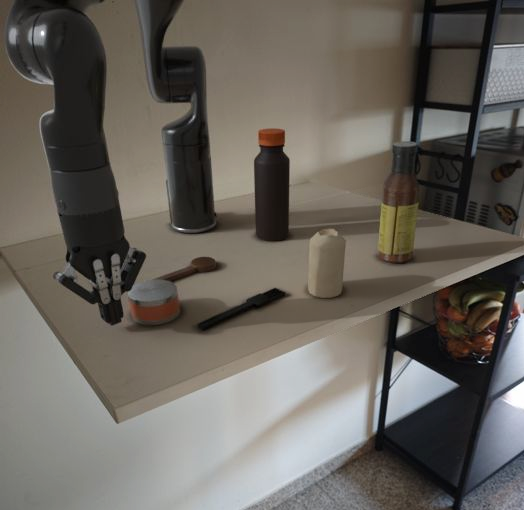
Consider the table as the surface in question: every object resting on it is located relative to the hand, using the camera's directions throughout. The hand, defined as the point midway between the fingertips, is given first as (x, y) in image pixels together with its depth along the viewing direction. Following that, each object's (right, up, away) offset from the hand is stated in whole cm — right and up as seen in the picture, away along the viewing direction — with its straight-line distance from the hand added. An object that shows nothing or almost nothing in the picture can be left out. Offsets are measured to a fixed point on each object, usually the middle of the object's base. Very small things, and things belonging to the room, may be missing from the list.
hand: (113, 322), depth 71 cm
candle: (+32, +6, +10) cm, 34 cm away
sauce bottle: (+46, +13, +21) cm, 52 cm away
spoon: (+7, +9, +15) cm, 19 cm away
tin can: (+5, +2, +4) cm, 7 cm away
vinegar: (+23, +19, +31) cm, 43 cm away
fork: (+19, +2, +5) cm, 20 cm away
